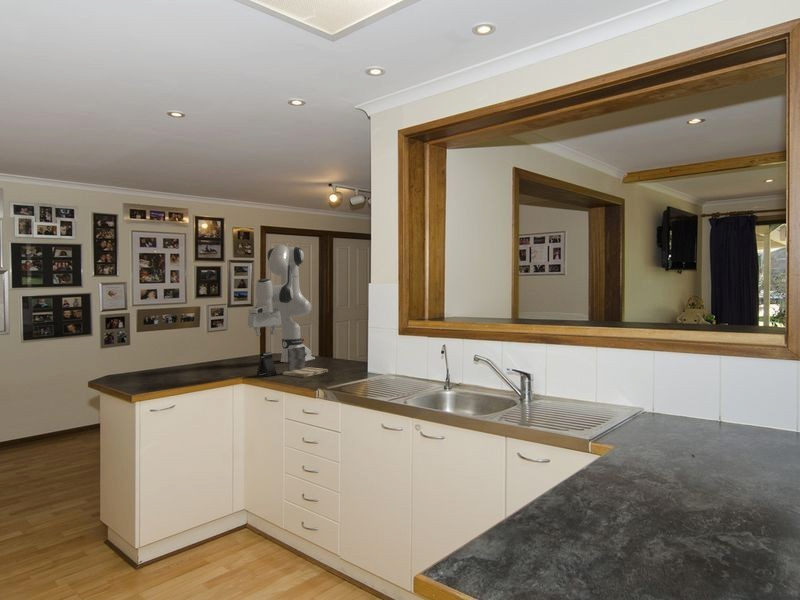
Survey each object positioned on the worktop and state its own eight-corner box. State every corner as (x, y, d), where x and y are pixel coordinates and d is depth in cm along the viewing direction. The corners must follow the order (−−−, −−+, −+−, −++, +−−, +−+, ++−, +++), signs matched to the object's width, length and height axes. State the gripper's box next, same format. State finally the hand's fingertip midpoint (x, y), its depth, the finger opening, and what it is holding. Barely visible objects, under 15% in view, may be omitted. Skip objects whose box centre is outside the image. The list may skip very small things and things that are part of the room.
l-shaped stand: (306, 369, 301) (306, 345, 300) (327, 371, 291) (327, 347, 291) (282, 374, 286) (282, 349, 285) (304, 377, 277) (303, 351, 276)
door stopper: (276, 374, 286) (276, 352, 286) (268, 376, 281) (268, 354, 281) (264, 373, 291) (264, 351, 290) (256, 375, 286) (255, 353, 285)
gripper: (275, 308, 295) (276, 333, 295) (245, 310, 278) (246, 336, 279) (283, 308, 291) (284, 333, 292) (253, 310, 275) (254, 337, 275)
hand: (265, 335), depth 285 cm, fingers open, 8 cm apart
